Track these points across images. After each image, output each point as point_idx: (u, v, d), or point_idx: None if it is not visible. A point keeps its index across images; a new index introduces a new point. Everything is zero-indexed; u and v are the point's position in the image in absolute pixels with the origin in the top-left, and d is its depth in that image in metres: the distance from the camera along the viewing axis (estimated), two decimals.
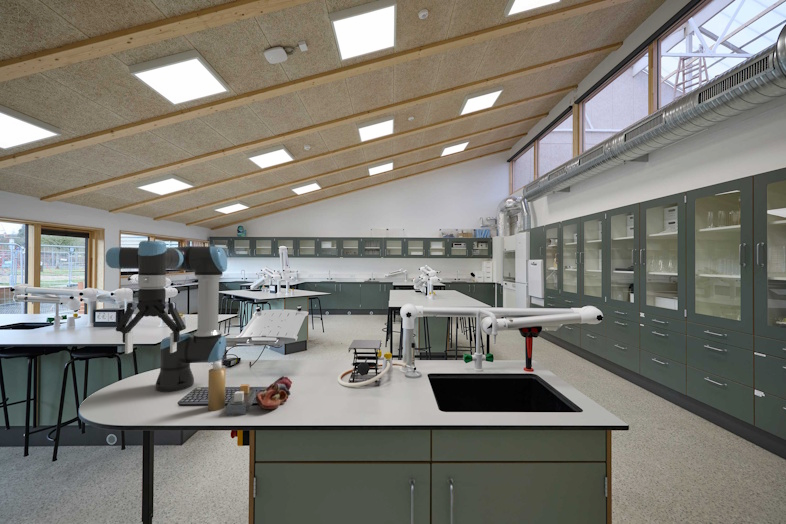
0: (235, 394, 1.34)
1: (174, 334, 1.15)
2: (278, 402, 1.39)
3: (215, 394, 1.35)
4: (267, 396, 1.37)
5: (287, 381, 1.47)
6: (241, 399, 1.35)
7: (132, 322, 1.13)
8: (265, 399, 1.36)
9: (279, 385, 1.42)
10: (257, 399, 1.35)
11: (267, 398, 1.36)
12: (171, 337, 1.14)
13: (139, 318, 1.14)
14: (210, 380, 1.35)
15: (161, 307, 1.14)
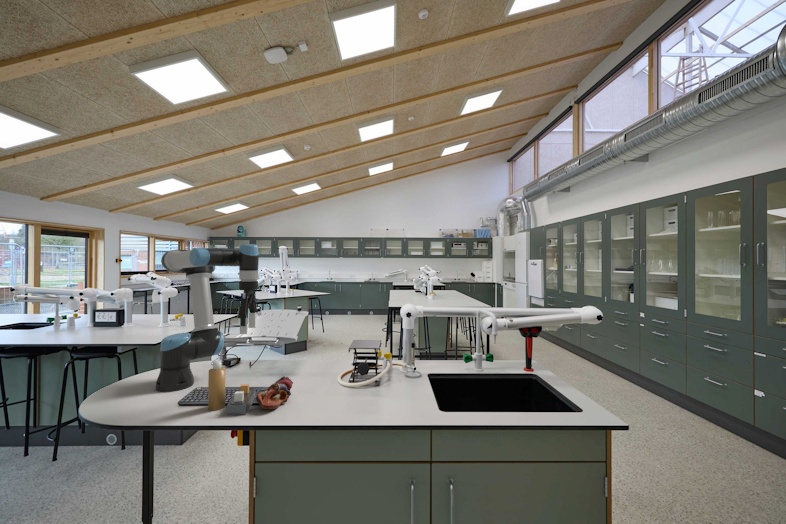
0: (235, 394, 1.34)
1: None
2: (278, 402, 1.39)
3: (215, 394, 1.35)
4: (267, 396, 1.37)
5: (288, 381, 1.47)
6: (241, 399, 1.35)
7: None
8: (265, 399, 1.35)
9: (279, 385, 1.41)
10: (257, 399, 1.35)
11: (267, 398, 1.36)
12: None
13: None
14: (210, 380, 1.35)
15: None
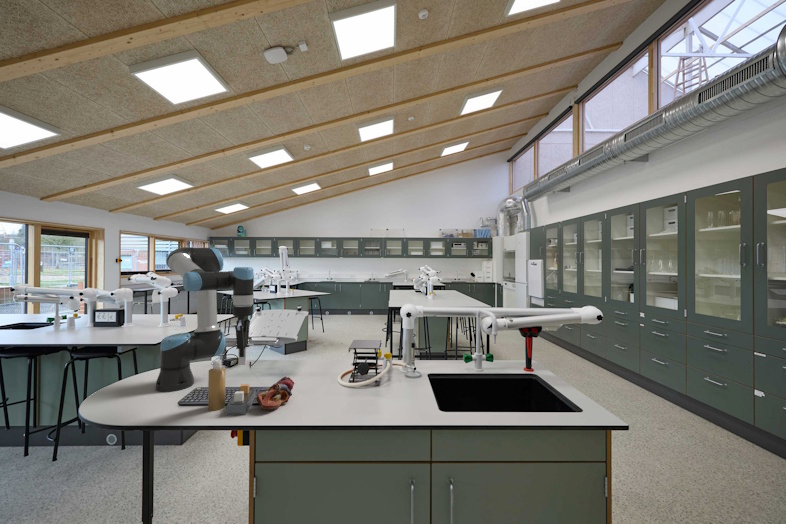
0: (235, 394, 1.34)
1: (240, 350, 1.38)
2: (279, 403, 1.39)
3: (215, 394, 1.35)
4: (267, 396, 1.37)
5: (289, 382, 1.47)
6: (241, 399, 1.35)
7: None
8: (265, 399, 1.35)
9: (280, 385, 1.41)
10: (257, 399, 1.35)
11: (267, 398, 1.36)
12: None
13: None
14: (210, 380, 1.35)
15: None
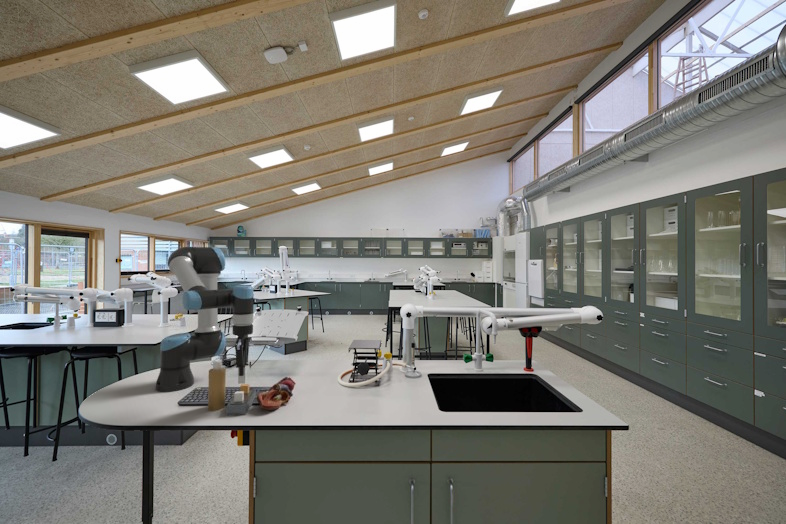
0: (235, 394, 1.34)
1: None
2: (279, 403, 1.38)
3: (215, 394, 1.35)
4: (268, 396, 1.37)
5: (290, 382, 1.46)
6: (241, 399, 1.35)
7: None
8: (265, 399, 1.35)
9: (281, 386, 1.41)
10: (258, 399, 1.35)
11: (268, 398, 1.36)
12: None
13: None
14: (210, 380, 1.35)
15: None
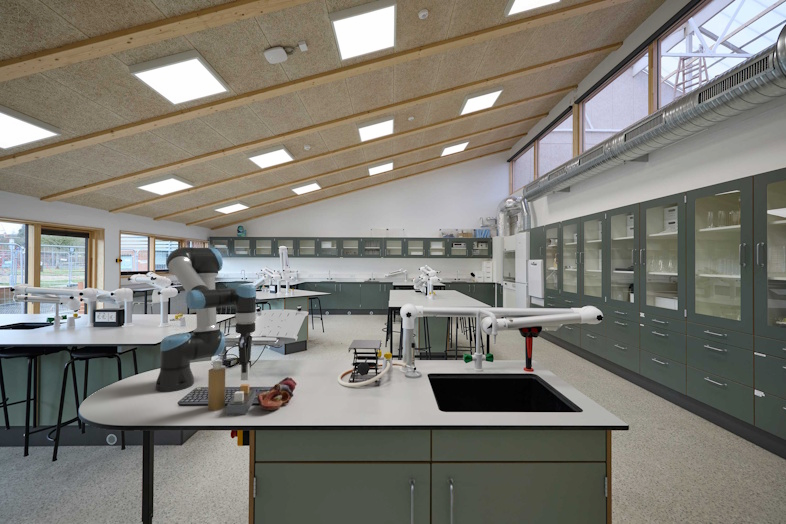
0: (235, 394, 1.34)
1: None
2: (279, 403, 1.38)
3: (215, 393, 1.35)
4: (268, 397, 1.36)
5: (291, 382, 1.46)
6: (241, 399, 1.35)
7: None
8: (265, 399, 1.35)
9: (281, 386, 1.41)
10: (258, 399, 1.35)
11: (268, 399, 1.36)
12: None
13: None
14: (210, 380, 1.36)
15: None
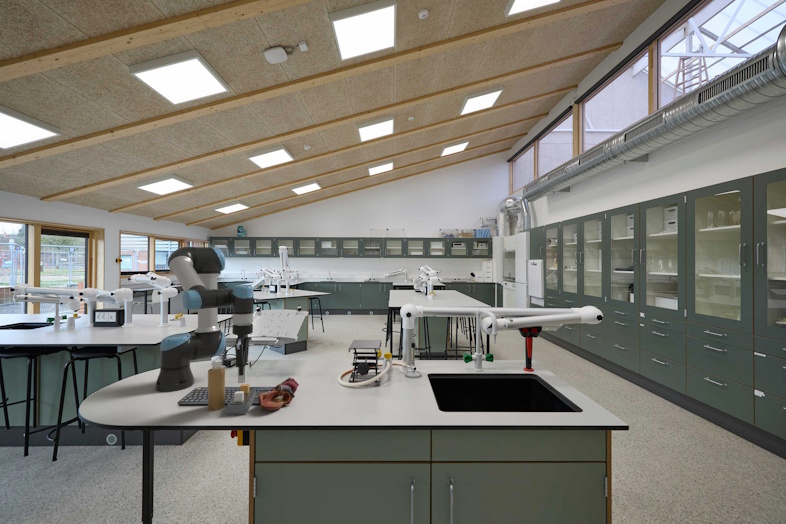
0: (235, 394, 1.34)
1: None
2: (280, 404, 1.37)
3: (215, 393, 1.35)
4: (268, 397, 1.36)
5: (293, 383, 1.45)
6: (241, 399, 1.35)
7: None
8: (266, 400, 1.35)
9: (282, 387, 1.40)
10: (258, 399, 1.35)
11: (268, 399, 1.36)
12: None
13: None
14: (209, 380, 1.35)
15: None
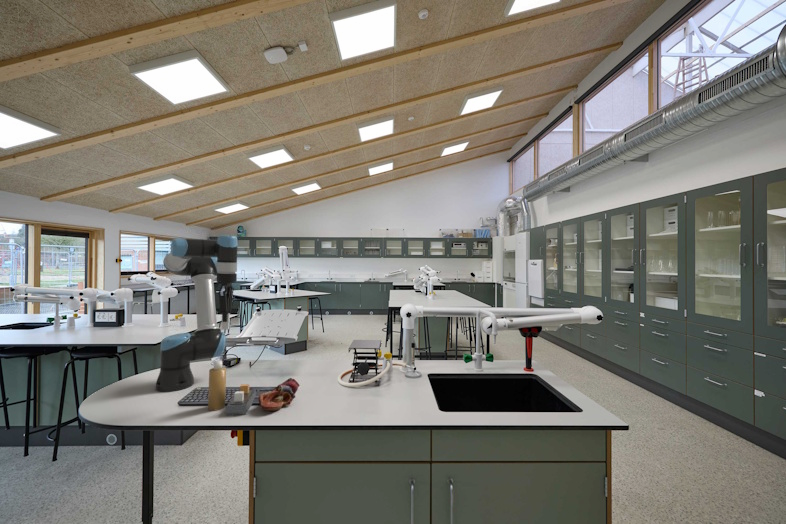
0: (235, 394, 1.34)
1: (223, 315, 1.44)
2: (280, 404, 1.37)
3: (215, 393, 1.35)
4: (268, 397, 1.36)
5: (294, 383, 1.45)
6: (241, 399, 1.35)
7: None
8: (266, 400, 1.35)
9: (282, 387, 1.40)
10: (259, 399, 1.35)
11: (268, 399, 1.35)
12: None
13: None
14: (210, 379, 1.36)
15: None
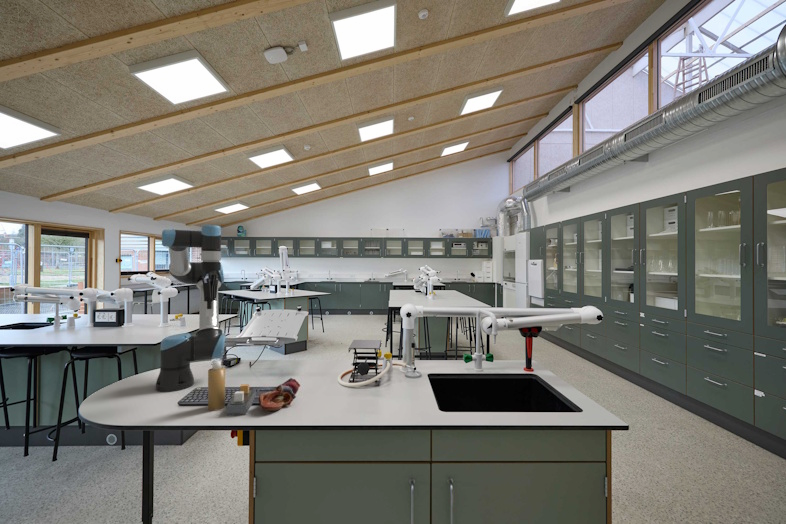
0: (235, 394, 1.34)
1: None
2: (280, 404, 1.37)
3: (214, 393, 1.35)
4: (269, 397, 1.36)
5: (294, 384, 1.44)
6: (241, 399, 1.35)
7: None
8: (266, 400, 1.35)
9: (283, 387, 1.39)
10: (259, 399, 1.35)
11: (268, 399, 1.35)
12: None
13: None
14: (209, 380, 1.36)
15: None
